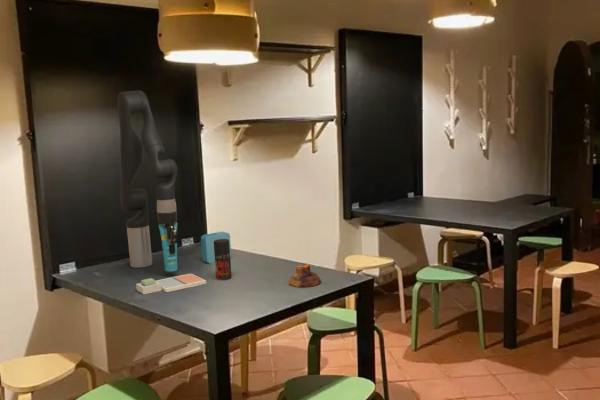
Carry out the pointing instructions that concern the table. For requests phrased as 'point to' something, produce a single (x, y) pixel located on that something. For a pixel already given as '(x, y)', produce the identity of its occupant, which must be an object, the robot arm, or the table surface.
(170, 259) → the tube
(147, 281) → the button
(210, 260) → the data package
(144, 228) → the robot arm
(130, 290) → the table surface
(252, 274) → the table surface
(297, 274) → the bell
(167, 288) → the picture card
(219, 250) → the deodorant
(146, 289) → the button frame
